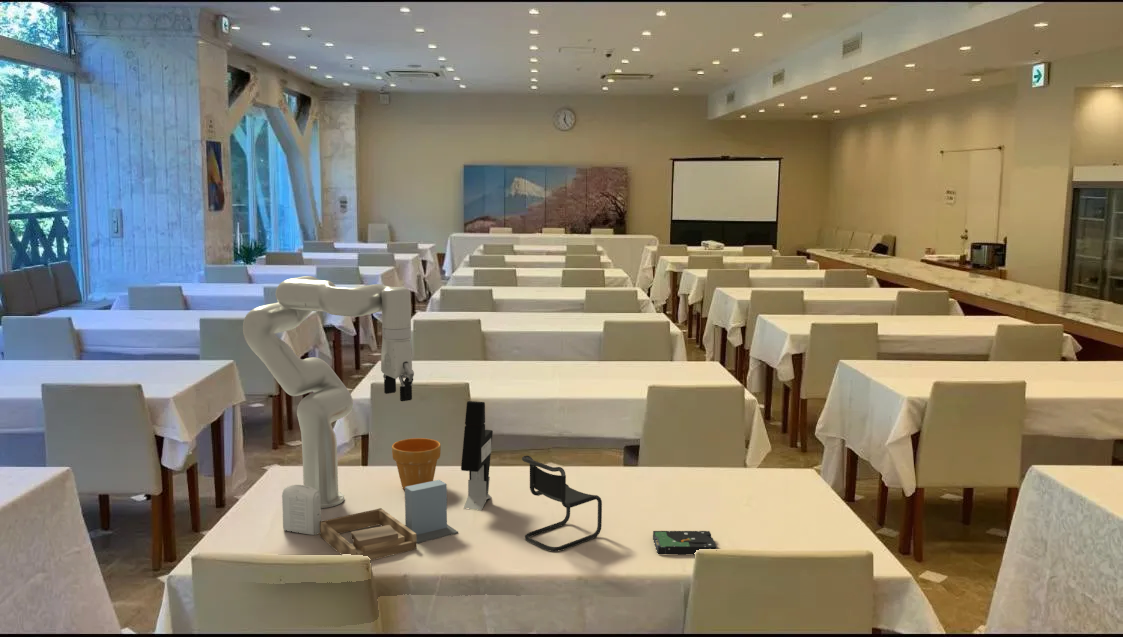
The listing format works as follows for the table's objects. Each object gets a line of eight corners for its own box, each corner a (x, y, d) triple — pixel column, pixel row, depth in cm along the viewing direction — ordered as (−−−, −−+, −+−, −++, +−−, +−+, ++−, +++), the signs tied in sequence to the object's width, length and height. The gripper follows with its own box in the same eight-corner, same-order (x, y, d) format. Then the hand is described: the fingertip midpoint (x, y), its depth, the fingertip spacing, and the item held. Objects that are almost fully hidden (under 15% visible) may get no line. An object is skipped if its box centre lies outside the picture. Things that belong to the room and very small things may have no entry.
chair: (519, 538, 239) (519, 456, 236) (568, 521, 251) (568, 443, 248) (553, 554, 230) (554, 468, 227) (602, 536, 242) (603, 454, 238)
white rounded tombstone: (324, 530, 244) (322, 485, 242) (315, 536, 240) (313, 490, 238) (290, 525, 247) (288, 480, 245) (280, 531, 243) (278, 486, 241)
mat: (396, 528, 245) (396, 526, 245) (436, 518, 252) (436, 517, 252) (416, 543, 236) (416, 542, 236) (458, 533, 243) (458, 531, 242)
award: (478, 513, 256) (478, 408, 251) (460, 512, 257) (459, 406, 252) (493, 495, 271) (493, 394, 266) (476, 493, 272) (475, 393, 267)
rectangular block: (405, 530, 243) (404, 486, 241) (439, 522, 248) (439, 479, 247) (412, 535, 240) (411, 491, 238) (446, 527, 245) (446, 483, 243)
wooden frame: (320, 536, 240) (319, 521, 239) (381, 522, 249) (381, 508, 249) (352, 565, 223) (351, 549, 222) (416, 548, 232) (416, 533, 232)
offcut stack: (347, 549, 231) (347, 532, 231) (393, 539, 238) (392, 522, 238) (359, 560, 225) (359, 542, 225) (406, 548, 232) (405, 531, 232)
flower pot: (394, 479, 283) (393, 438, 281) (441, 478, 285) (440, 437, 283) (391, 495, 269) (390, 452, 267) (440, 494, 271) (440, 451, 269)
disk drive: (708, 540, 241) (651, 540, 241) (709, 530, 241) (652, 529, 240) (716, 557, 231) (657, 556, 230) (717, 546, 230) (657, 545, 230)
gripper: (370, 330, 251) (371, 392, 254) (398, 340, 237) (399, 405, 240) (395, 327, 256) (396, 388, 258) (424, 337, 242) (425, 401, 244)
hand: (398, 396), depth 249 cm, fingers open, 9 cm apart
